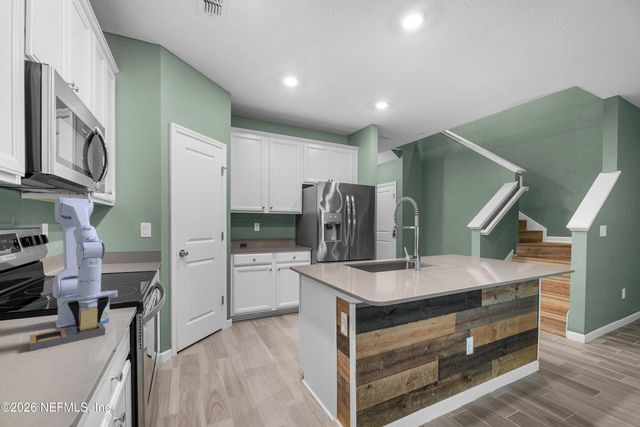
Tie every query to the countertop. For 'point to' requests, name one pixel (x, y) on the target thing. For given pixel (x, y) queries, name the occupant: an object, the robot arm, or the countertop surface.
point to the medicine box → (94, 303)
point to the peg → (88, 318)
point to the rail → (63, 337)
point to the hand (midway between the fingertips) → (87, 324)
